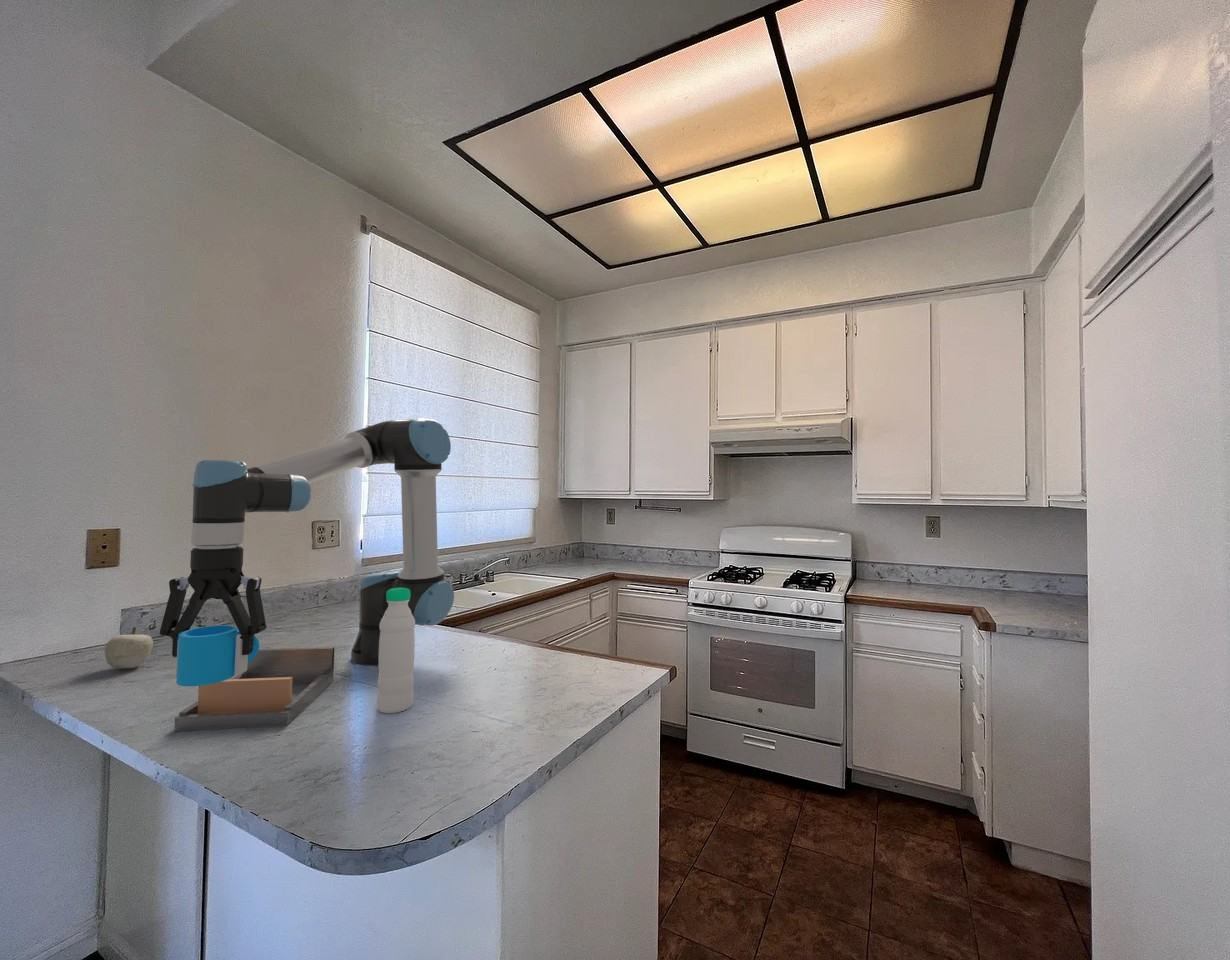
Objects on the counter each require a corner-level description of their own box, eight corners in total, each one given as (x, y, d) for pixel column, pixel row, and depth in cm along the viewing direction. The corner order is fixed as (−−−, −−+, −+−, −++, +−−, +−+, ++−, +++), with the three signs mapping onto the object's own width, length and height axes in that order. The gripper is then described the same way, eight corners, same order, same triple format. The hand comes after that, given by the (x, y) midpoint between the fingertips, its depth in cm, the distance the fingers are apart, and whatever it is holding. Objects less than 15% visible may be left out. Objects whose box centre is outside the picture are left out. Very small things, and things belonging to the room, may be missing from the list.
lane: (333, 680, 125) (334, 646, 125) (287, 725, 101) (288, 683, 101) (243, 684, 121) (245, 649, 122) (174, 731, 97) (176, 688, 98)
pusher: (297, 706, 109) (298, 672, 109) (288, 715, 105) (289, 679, 105) (210, 710, 106) (211, 675, 106) (197, 719, 102) (198, 682, 102)
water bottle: (377, 717, 105) (381, 593, 106) (375, 704, 111) (379, 587, 112) (414, 711, 108) (418, 590, 109) (411, 699, 115) (414, 585, 115)
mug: (184, 690, 86) (186, 640, 86) (170, 678, 91) (172, 631, 91) (267, 671, 95) (268, 626, 95) (250, 662, 100) (252, 619, 100)
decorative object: (102, 677, 124) (104, 635, 125) (105, 667, 131) (107, 627, 131) (152, 669, 130) (153, 629, 130) (152, 660, 137) (154, 622, 137)
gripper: (291, 544, 99) (287, 664, 98) (165, 544, 95) (159, 668, 95) (272, 548, 91) (267, 678, 91) (134, 548, 88) (128, 683, 87)
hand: (212, 673), depth 93 cm, fingers closed on mug, 8 cm apart
